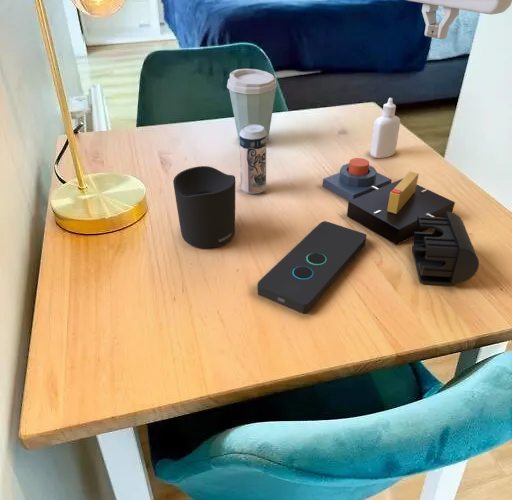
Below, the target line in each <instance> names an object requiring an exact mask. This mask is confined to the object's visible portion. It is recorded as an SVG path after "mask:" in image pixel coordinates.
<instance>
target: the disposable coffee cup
mask: <svg viewBox="0 0 512 500" xmlns="http://www.w3.org/2000/svg"><path fill="white" fill-rule="evenodd" d="M277 83H278V82H277V78H276V77H275V76H274V74H272V73H270V72H268V71H266V70H261V69H256V68H237V69H234V70H233V71H230V73H229V78H228V79H227V84H226V88H227V89H228V91H229V97H230V103H231V107H232V112H233V118H234V123H235V128H236V134H237V139H238V141H239V142H240V135H239V133H240V132H241V130H242V127H243V126H245V125H250V124H257V125H261V126H263V127H264V129H265V131H266V133H267V134H266V144H267V143H268V140H269V137H270V131H271V124H272V119H273V111H274V104H275V99H276V93H277V92H276V91H277V88H278V84H277Z"/></svg>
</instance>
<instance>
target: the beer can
mask: <svg viewBox="0 0 512 500" xmlns="http://www.w3.org/2000/svg"><path fill="white" fill-rule="evenodd" d="M266 134H267V133H266V131H265V129H264V127H263V126H261V125H257V124H250V125H245V126H243V127H242V130H241V132H240V133H239V135H240V141H239V160H240V161H239V163H240V164H239V165H240V166H239V167H240V189H241V190H242V192H245V193H247V194H251V195H255V194H260V193H262V192H264V191H266V189H267V143H266Z"/></svg>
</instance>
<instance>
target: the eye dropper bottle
mask: <svg viewBox="0 0 512 500" xmlns="http://www.w3.org/2000/svg"><path fill="white" fill-rule="evenodd" d="M382 106H383V107H382V111H381V115H380V116H379V117H377V118H376V119H375V121H374V123H373V129H372V135H371V143H370V151H369V155H370V156H371V157H373V158H376V159H384V158H389V157H391V156H393V155H394V154H395V153H396V150H397V145H398V139H399V132H400V125H401V119H400V117H399V116H397V115H395V114H396V108H397V106H396V104H394V102H393V97H388V99H387V102H386V103H384V104H383V105H382Z"/></svg>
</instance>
